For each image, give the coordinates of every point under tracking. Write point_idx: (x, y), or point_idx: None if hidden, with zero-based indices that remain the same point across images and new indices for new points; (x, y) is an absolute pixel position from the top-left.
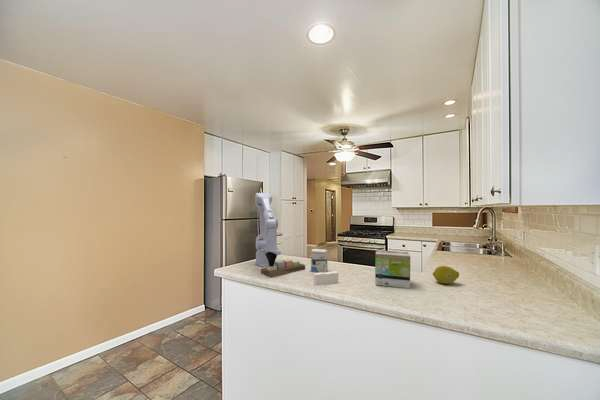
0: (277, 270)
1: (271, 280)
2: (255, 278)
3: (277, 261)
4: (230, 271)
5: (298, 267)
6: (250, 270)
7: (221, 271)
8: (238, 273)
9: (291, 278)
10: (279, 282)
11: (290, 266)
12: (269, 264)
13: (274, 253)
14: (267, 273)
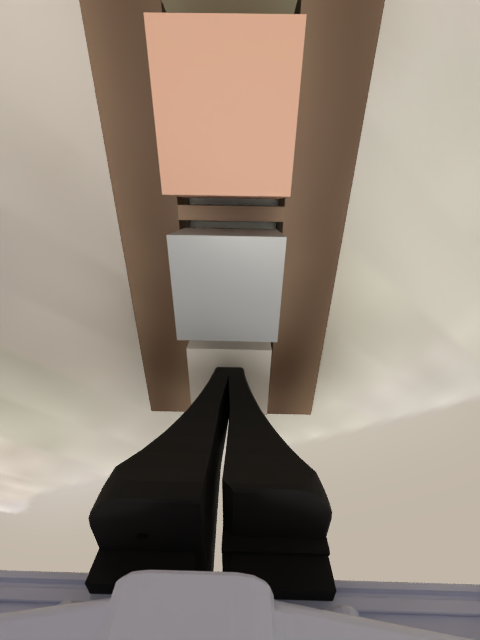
0: (300, 346)
1: (353, 412)
2: None
3: (180, 299)
4: (24, 481)
5: (376, 3)
6: (55, 403)
7: (4, 505)
8: (90, 470)
9: (453, 295)
10: (427, 400)
11: None
12: (227, 420)
13: (356, 601)
14: None
